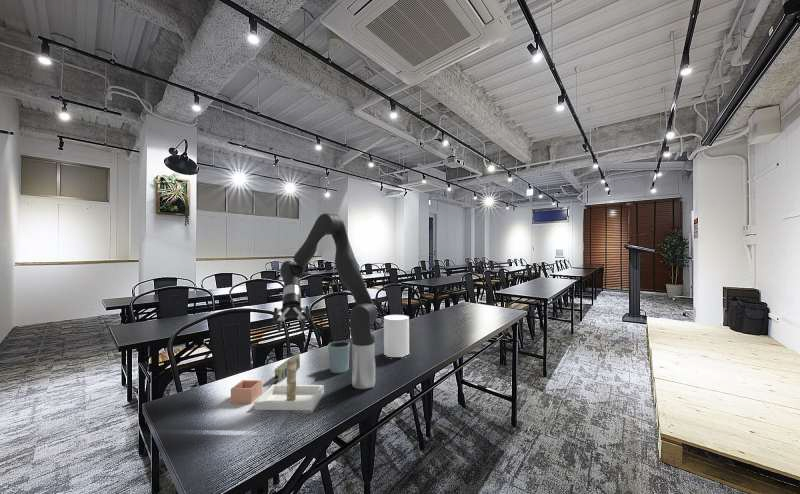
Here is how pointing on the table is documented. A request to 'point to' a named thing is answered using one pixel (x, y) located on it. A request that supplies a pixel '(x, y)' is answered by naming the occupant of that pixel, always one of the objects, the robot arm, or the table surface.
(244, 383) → the pot
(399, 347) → the canister
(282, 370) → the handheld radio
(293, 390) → the dowel pin
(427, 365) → the table surface
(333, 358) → the teal cup
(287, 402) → the tray
